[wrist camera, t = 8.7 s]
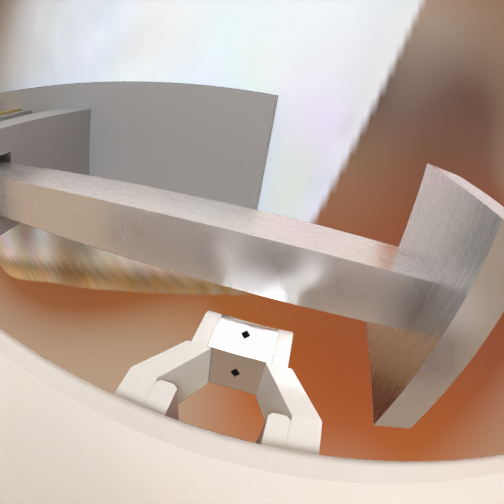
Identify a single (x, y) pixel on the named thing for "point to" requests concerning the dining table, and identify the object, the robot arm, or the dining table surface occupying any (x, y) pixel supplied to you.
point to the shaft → (308, 265)
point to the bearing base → (144, 136)
